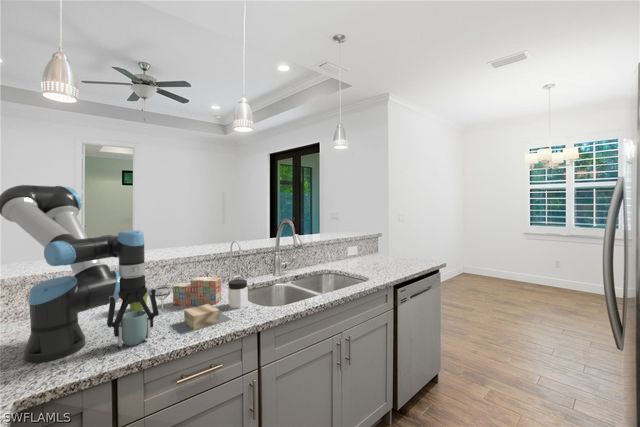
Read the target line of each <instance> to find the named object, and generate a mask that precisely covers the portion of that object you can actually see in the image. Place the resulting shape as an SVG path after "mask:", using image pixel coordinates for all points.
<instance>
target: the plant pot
mask: <svg viewBox="0 0 640 427" xmlns="http://www.w3.org/2000/svg"><path fill="white" fill-rule="evenodd" d="M146 288H147V289H150V288H149V287H146ZM148 295H149V294H148V292H146V294H145V295H144V297H143V299H144V301H145V303H146V305H147V306H148V304H147V302H148ZM129 309H130V312H132V311H139V310H142V311H144V309H143V307H142V305H141V304H140V302H137V303H136V302H134V303H132V304H129Z"/></svg>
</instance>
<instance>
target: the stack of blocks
mask: <svg viewBox="0 0 640 427" xmlns="http://www.w3.org/2000/svg"><path fill="white" fill-rule="evenodd" d="M172 300H173V301H172V304H173V306H188V307H189V306H191V307H194V306H195V307H197V306H201V305H205V304H210V305H217V304H218V303H219V302H221V301H222V277H213V276H212V277H211V276H204V277H203V276H202V277H201V276H197V277H194V278H192V279H191V280H190V282H179V283H176V284H174V285H172Z"/></svg>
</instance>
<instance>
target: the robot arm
mask: <svg viewBox="0 0 640 427" xmlns="http://www.w3.org/2000/svg"><path fill="white" fill-rule="evenodd" d="M81 201H82V200H81V196H80V195H79V193H78V191H76V190H75V189H74V188H72V187H69V186H62V185H55V186H50V185H31V184H22V185H21V184H20V185H15V186H12V187H9V188H8V189H5V190H4V191H3V192H2V193H0V216H2V217H3V219H5V220H7V221H9V222H11V223H15V224H16V225H18V226H19V227H20V228H21V229H23V231H25V233H27V234H28V235H29V236H30V237H32V238H33V239H34V240H35V241H36V242H37V243H39V244H40V245H41V246H42V247H43V248H44V249H43V256H44V259H45V261H46V263H47V264H48V265H49V266H52V267H59V266H70V268H71V270H72V272H73V275H67V276H60V277H54V278H50V279H46V280H43V281H41V282H39V283H37V284H34V285H33V286H32V287H31V288H30V289H29V295H28V296H29V297H28V304H29V305H28V306H29V317H30V318H29V319H30V320H29V321H30V322H29V323H30V335H29V337H28V340H27V343H26V346H25V349H24V351H23V356H24V357H23V358H24V361H26V362H29V363H44V362H49V361H53V360H58V359H61V358H64V357H65V358H66V357H67V356H70V355H73V354H74V353H76V352H78V351H80V350H81V349H83V348H84V347H85V345H86V336H85V334H84V332H83V330H82V328H81V326H80V324H79V317H78V316H79V313H82V312H85V311H88V310H92V309H95V308H99V307H102V306H107V305H109V307H108V313H107V320H106V325H107V327H108V328H113V335H114V337H115V338H117V344H118V347H122V346H123V341H122V327H121V325H120V322H121V320H122V317H123V315H124V314H125V313H126V310H127V308H128V307H129V305H130V304H132V303H134V302H136V303H137V302H140V304H141V305H142V307H143V311H145V312H146V313H147V334H146V338H147V339H149V338H151V336H152V335H151V328H153V327H154V319H155V317H158V315H159V313H160V312H159V308H158V304H157V298H156V297H155V292H156V290H155V289H154V287H150V288H149V289H147V288H148V287H146V286H147V285H146V275H145V274H146V266H145V265H146V264H145V260H146V258H145V244H146V242H145V236H144V235H145V234H144V232H143V231H142V230H124V231H123V230H122V231H119V232H118V234H117V235H112V234H111V235H110V234H106V235H100V236H98V237H88V235H87V233H86V231H85V230H84V228H83V226H82V224H81V222H80V220H79V219H78V216H79V214H80V211H81V209H82V203H81ZM108 258H118V271H117V270H111V269H110V267H109V265H108V264H106V263H102V261H101V260H103V259H108ZM146 292H148V295H149V299H150V304H151V309H152V311H151V310H150V309H149V306H148V304H147V305H146V303H145V301H144V299H143V297H144V295H145V294H146ZM119 299H120V300H122V301H121V304H120V308H119V310H118V312H117V315H116V316H114V315H115V312H116V303H117V302H118V300H119ZM159 316H160V315H159ZM114 317H115V318H114Z"/></svg>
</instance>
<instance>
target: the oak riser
mask: <svg viewBox="0 0 640 427" xmlns="http://www.w3.org/2000/svg"><path fill="white" fill-rule="evenodd" d="M219 312H220V309H219V308H217V307H215V306H213V304H204V305H200V306H195V307H194V306H192V307H189V308H186V309H183V316H184V317H183V318H184V320H183V321H184V322H185V323H186V324H187V325H189V326H190V327H191V328H192V329H194V330H195V329H198V328H202V327H205V326H209V325H212V324H215V323H219V322H220V317H219ZM219 324H220V323H219ZM209 327H210V326H209Z"/></svg>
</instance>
